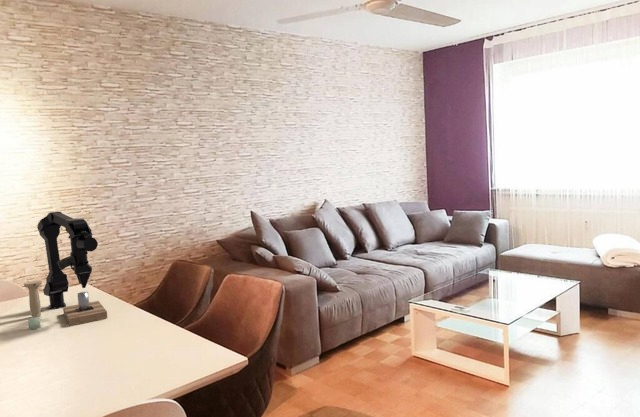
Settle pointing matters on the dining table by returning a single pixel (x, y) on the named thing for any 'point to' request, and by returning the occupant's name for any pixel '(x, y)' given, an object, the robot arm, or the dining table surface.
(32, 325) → the short pin
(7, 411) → the dining table surface
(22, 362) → the dining table surface
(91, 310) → the board
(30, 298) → the handle
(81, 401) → the dining table surface
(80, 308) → the long pin
